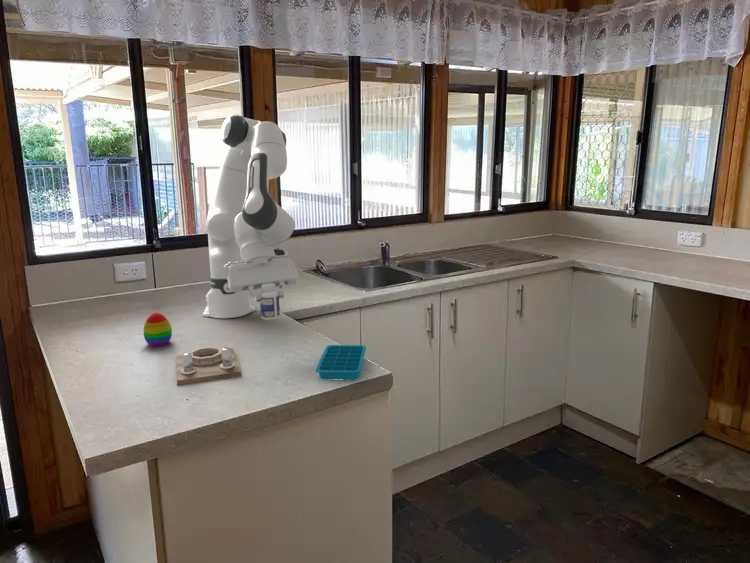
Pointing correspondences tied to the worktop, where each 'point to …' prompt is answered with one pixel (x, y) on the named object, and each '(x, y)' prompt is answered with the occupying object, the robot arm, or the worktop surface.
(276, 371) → the worktop surface
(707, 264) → the worktop surface
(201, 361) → the board
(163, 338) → the decorative egg
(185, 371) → the steel pins
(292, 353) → the worktop surface
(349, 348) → the ice cube tray
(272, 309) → the pill bottle
